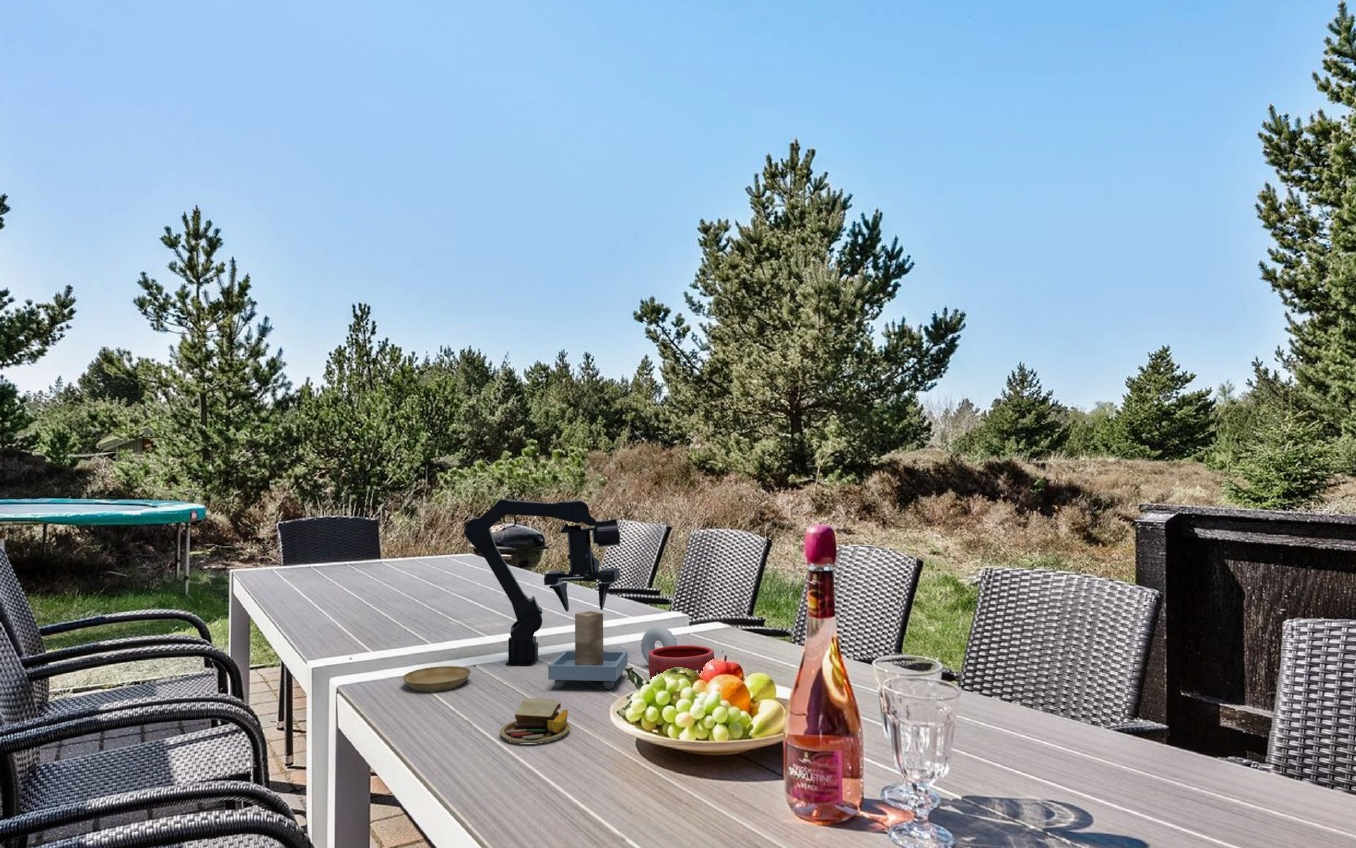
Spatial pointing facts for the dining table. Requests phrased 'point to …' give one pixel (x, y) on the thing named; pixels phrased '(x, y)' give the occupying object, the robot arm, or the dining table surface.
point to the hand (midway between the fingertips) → (584, 610)
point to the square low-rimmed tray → (588, 669)
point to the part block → (589, 638)
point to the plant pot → (679, 658)
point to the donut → (653, 636)
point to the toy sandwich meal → (537, 722)
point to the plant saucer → (436, 678)
